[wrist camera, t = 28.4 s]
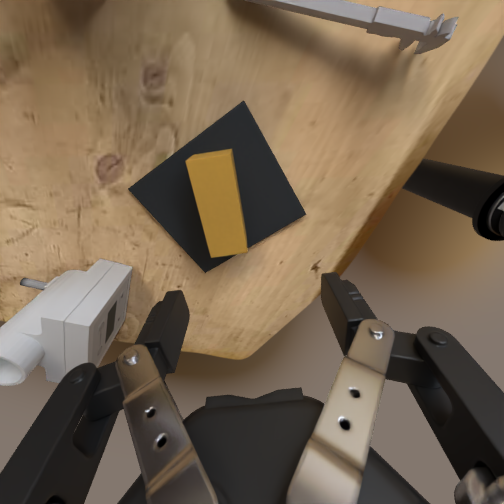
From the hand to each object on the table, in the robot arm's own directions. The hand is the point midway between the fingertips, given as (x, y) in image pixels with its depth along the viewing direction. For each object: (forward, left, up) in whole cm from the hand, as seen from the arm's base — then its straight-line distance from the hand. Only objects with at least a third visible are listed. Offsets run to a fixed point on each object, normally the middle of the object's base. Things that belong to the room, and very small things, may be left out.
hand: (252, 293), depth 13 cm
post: (+5, +4, -18) cm, 19 cm away
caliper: (-17, -10, -21) cm, 29 cm away
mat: (+3, -1, -21) cm, 21 cm away
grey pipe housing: (+30, -2, -21) cm, 37 cm away
